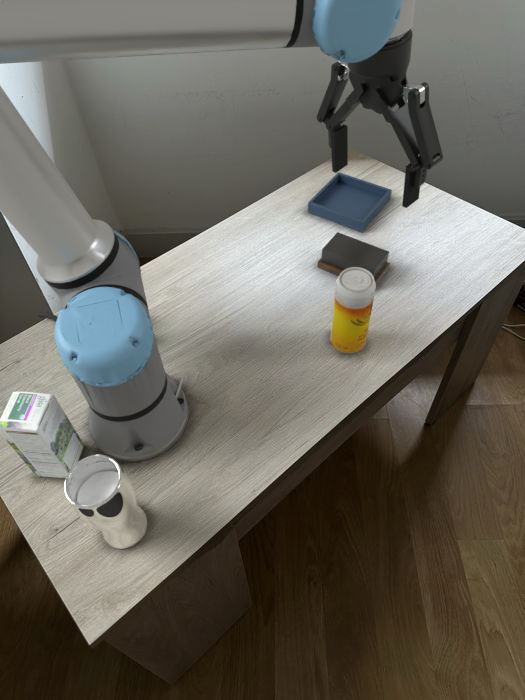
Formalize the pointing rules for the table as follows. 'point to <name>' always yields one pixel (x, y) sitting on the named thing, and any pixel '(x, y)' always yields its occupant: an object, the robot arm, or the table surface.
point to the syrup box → (41, 434)
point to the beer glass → (106, 500)
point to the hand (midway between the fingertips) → (373, 184)
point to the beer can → (352, 309)
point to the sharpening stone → (353, 256)
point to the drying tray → (349, 201)
